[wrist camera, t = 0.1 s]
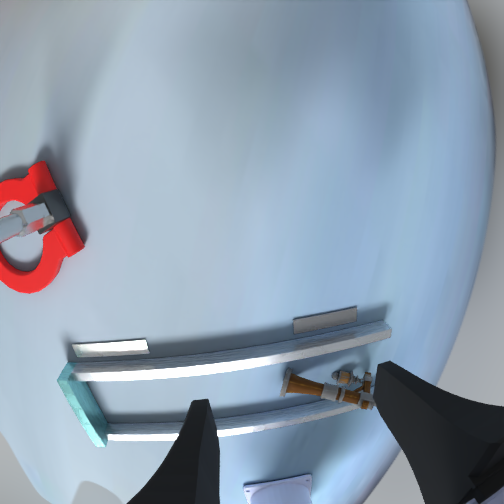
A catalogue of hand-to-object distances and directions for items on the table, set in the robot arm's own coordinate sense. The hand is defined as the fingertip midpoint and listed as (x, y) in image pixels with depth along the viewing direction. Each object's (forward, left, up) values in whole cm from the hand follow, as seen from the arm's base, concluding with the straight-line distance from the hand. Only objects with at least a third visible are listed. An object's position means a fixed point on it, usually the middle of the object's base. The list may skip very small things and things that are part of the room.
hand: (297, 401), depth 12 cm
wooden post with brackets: (-8, -5, -10) cm, 14 cm away
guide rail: (-8, +3, -10) cm, 13 cm away
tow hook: (+7, +16, -10) cm, 21 cm away
